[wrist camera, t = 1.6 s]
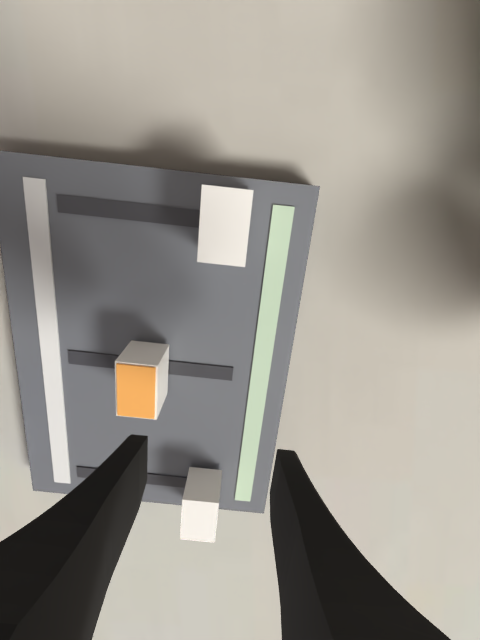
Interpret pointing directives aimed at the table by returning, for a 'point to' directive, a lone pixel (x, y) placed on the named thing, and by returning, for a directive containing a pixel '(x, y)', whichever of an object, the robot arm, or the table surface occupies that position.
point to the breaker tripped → (141, 379)
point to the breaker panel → (149, 319)
